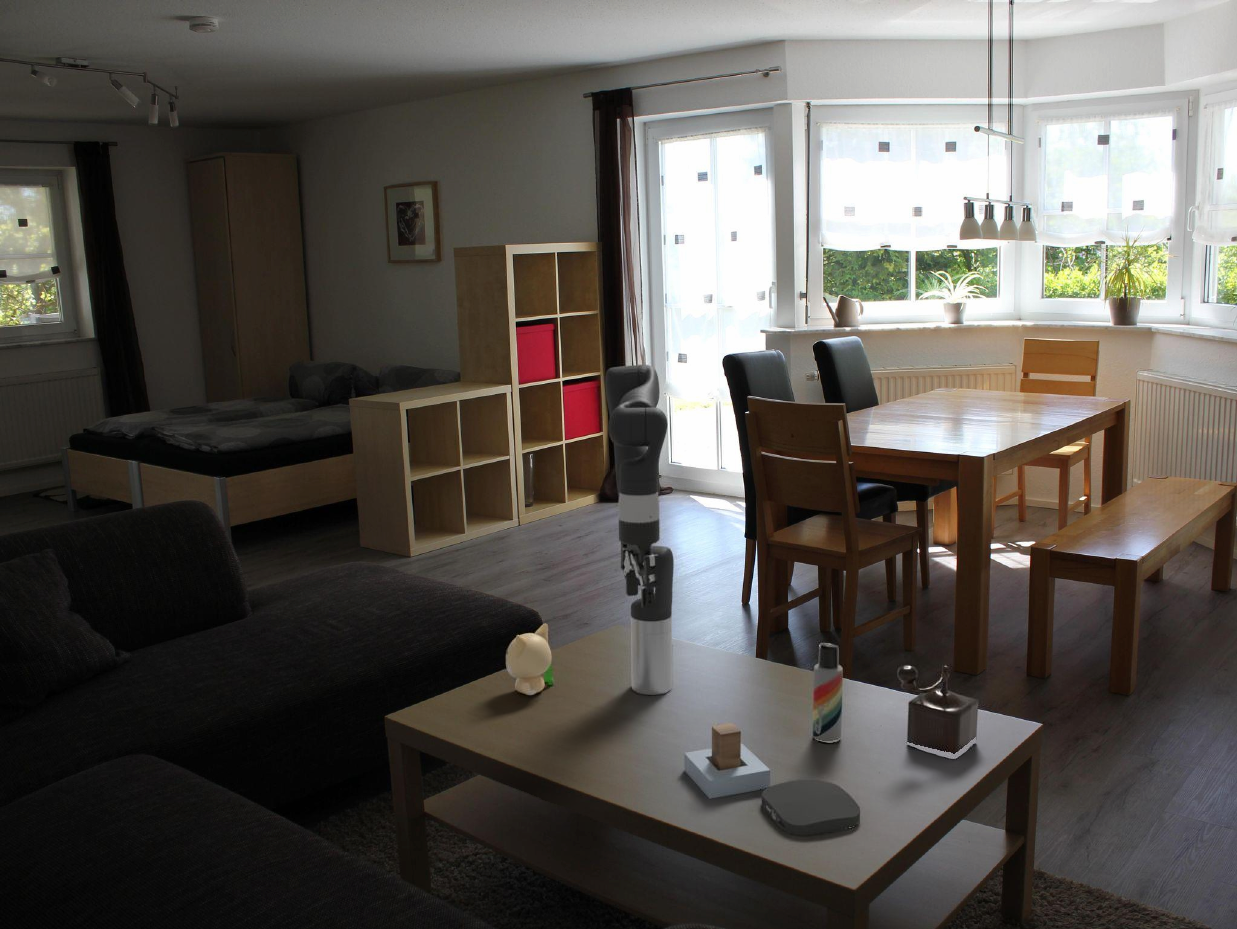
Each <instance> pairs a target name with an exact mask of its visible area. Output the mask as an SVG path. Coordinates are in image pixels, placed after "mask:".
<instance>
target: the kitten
mask: <svg viewBox="0 0 1237 929" xmlns="http://www.w3.org/2000/svg"><path fill="white" fill-rule="evenodd" d="M548 634H549V625H548V624H547V623H543V624H542V625H541V626H540V627H539V628H538V629H537V630H536V631H535V632H534V633H533V632H528V633H527V632H526V633H523V634H520V635H519V634H516V637H515V638H513V640H512V641H511V642H510V643H509V645H508V647H507V649H506V650H505V666H506V670H507V672H508V674H509V675H510V676H511V677H513V678H516V680H515V684H514V687H515V690H516V691H517V692H519V693H522V694H525V695H527V696H533V695H535V694H537V693H540V692H541V691H543V689H544V688H545V683H547V686H554V684H555V680H554V678H553V671H554V670H553V666H552V659H553V658H552V651H551V647H550V644H549V636H548ZM542 674H543V676H542Z"/></svg>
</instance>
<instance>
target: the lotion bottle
mask: <svg viewBox="0 0 1237 929" xmlns="http://www.w3.org/2000/svg"><path fill="white" fill-rule="evenodd" d="M839 648H840V647H839V645H837V644H833V643H829V642H828V643H827V642H821V643H820V644H819V645H818V663H816V664H815V665H814V668H813V691H812V694H813V698H812V699H813V700H812V701H813V704H812V737H815V738H816V739H818V740H822V741H833V740H838V739H839V738H840V737H841V738H842V719H843V717H842V716H843V682H844V681H843V679H844V677H843V674H844V672H843V671H844V669H843V667H842V666H841V665H840V664H839V656H840V654H839V652H840V651H839Z"/></svg>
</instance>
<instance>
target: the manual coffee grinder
mask: <svg viewBox="0 0 1237 929" xmlns="http://www.w3.org/2000/svg"><path fill="white" fill-rule="evenodd" d="M941 670H942V672H941V676H940V678H939V679H938V680H937V682H935V683H934V684H933V685H932V686H927V687H926V688H918V687H917V684H916V682H915V680H916V679H917V678H918V670H917V668H916V667H915V666H912V665H910V664H904V665H902V666H899V667H898V669H897V675H896V676H897V679H899V680H900V681H901V686H900V687H901V689H902V690H904V691H909V692H910V691H911V692H914V693H918V695H917V696H916V697H914V698H912V699H911V700H909V701H908V705H907V706H908V707H907V708H908V710H907V712H908V714H907V732H906V733H907V736H906V738H907V740H906V743H907V742H909V743H913V744H915V745H920V746H924V747H928V748H932V749H937V750H940V751H944V752H945V751H946V752H951V753H953V754H955V753H956V752H958V751H959V750H960V749H962V748H963V747H964V746H965V745H967V744H968V743H969V742H970V741H971V740H973V739H974V738H975V737H976V738H977V733H978V732H977V728H978V717H979V715H978V714H979V700H978V699H975V698H973V697H969V696H966V695H961V694H958V693H955V692H952V691H951V690H948V678H950V673H949V671H950V667H949V665H948V666H947V665H943V666H942V668H941ZM939 687H941V688H939Z"/></svg>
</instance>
